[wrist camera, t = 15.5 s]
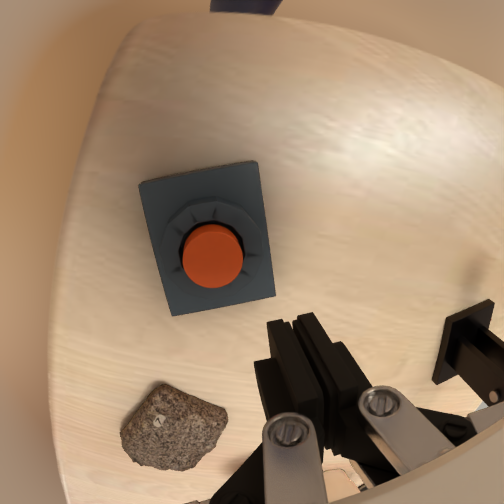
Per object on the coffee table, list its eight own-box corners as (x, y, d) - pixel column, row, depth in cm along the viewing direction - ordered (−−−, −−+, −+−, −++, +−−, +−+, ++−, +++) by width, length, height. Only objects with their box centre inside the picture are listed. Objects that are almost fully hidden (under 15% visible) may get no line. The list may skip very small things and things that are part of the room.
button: (178, 229, 20) (176, 238, 18) (234, 219, 20) (237, 226, 19) (190, 281, 21) (189, 293, 19) (243, 271, 21) (247, 282, 20)
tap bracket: (446, 317, 31) (513, 376, 20) (489, 298, 32) (552, 344, 21) (431, 380, 34) (481, 438, 23) (473, 359, 35) (522, 407, 24)
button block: (142, 181, 21) (132, 188, 18) (253, 160, 22) (262, 163, 19) (173, 305, 25) (170, 329, 22) (271, 286, 26) (282, 308, 22)
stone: (157, 376, 27) (156, 404, 24) (234, 409, 30) (240, 436, 27) (112, 436, 29) (109, 461, 25) (179, 461, 32) (181, 485, 28)
